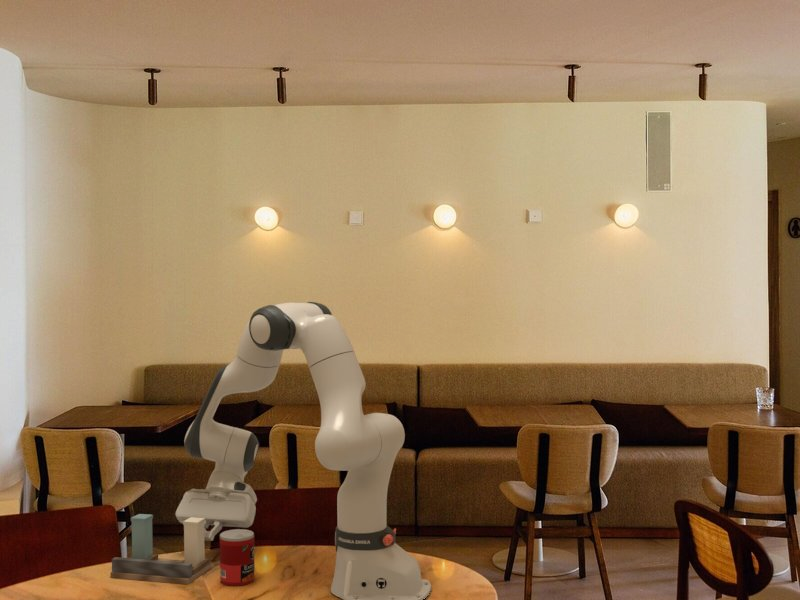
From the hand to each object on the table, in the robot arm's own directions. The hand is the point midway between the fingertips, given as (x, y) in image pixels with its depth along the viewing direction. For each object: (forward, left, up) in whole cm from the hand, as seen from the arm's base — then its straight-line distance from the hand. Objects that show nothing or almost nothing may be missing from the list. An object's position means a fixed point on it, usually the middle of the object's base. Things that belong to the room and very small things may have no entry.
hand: (206, 539), depth 210 cm
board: (+7, +9, -6) cm, 13 cm away
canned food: (-13, +10, -6) cm, 17 cm away
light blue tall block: (+14, +6, -4) cm, 16 cm away
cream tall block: (0, +6, -4) cm, 7 cm away
